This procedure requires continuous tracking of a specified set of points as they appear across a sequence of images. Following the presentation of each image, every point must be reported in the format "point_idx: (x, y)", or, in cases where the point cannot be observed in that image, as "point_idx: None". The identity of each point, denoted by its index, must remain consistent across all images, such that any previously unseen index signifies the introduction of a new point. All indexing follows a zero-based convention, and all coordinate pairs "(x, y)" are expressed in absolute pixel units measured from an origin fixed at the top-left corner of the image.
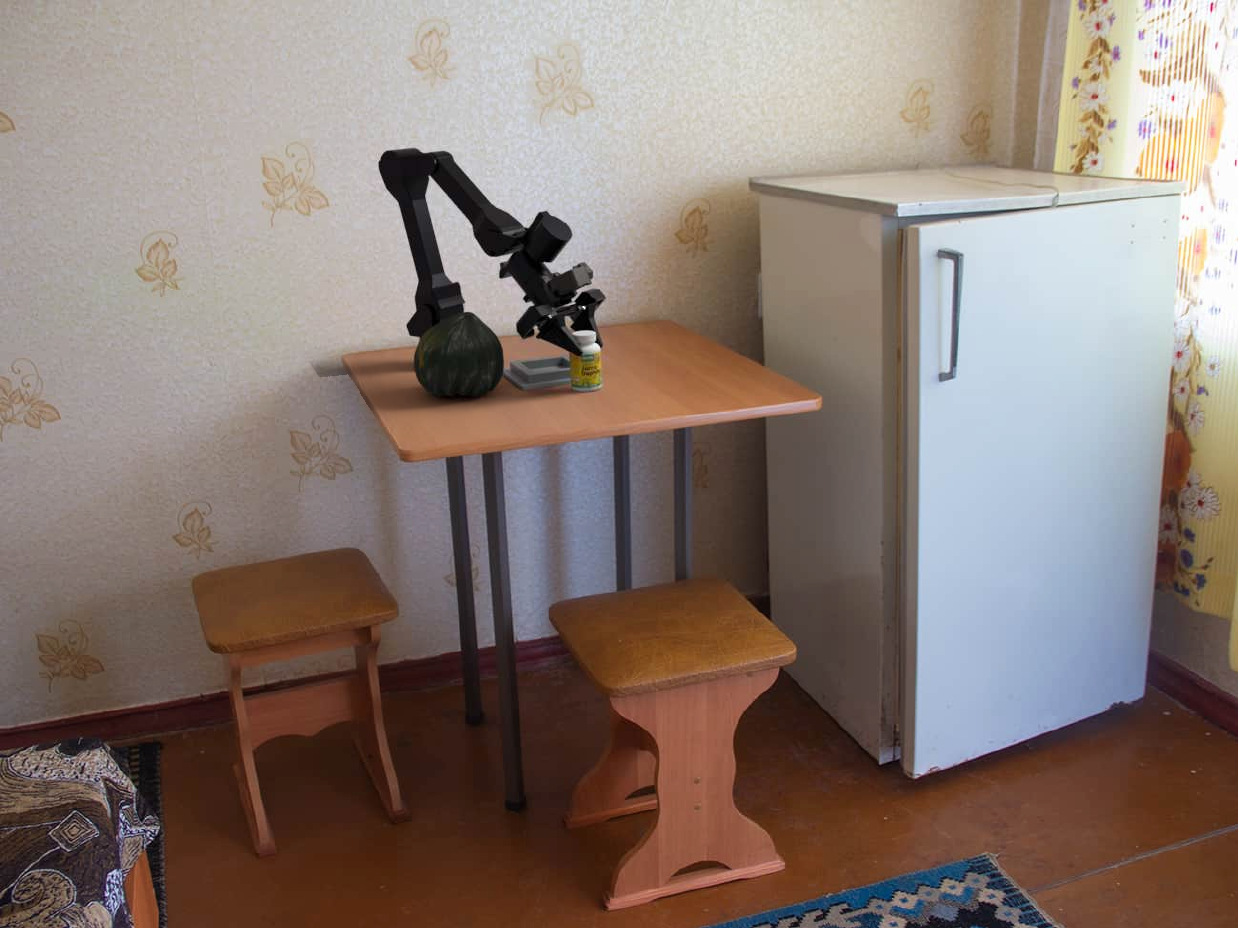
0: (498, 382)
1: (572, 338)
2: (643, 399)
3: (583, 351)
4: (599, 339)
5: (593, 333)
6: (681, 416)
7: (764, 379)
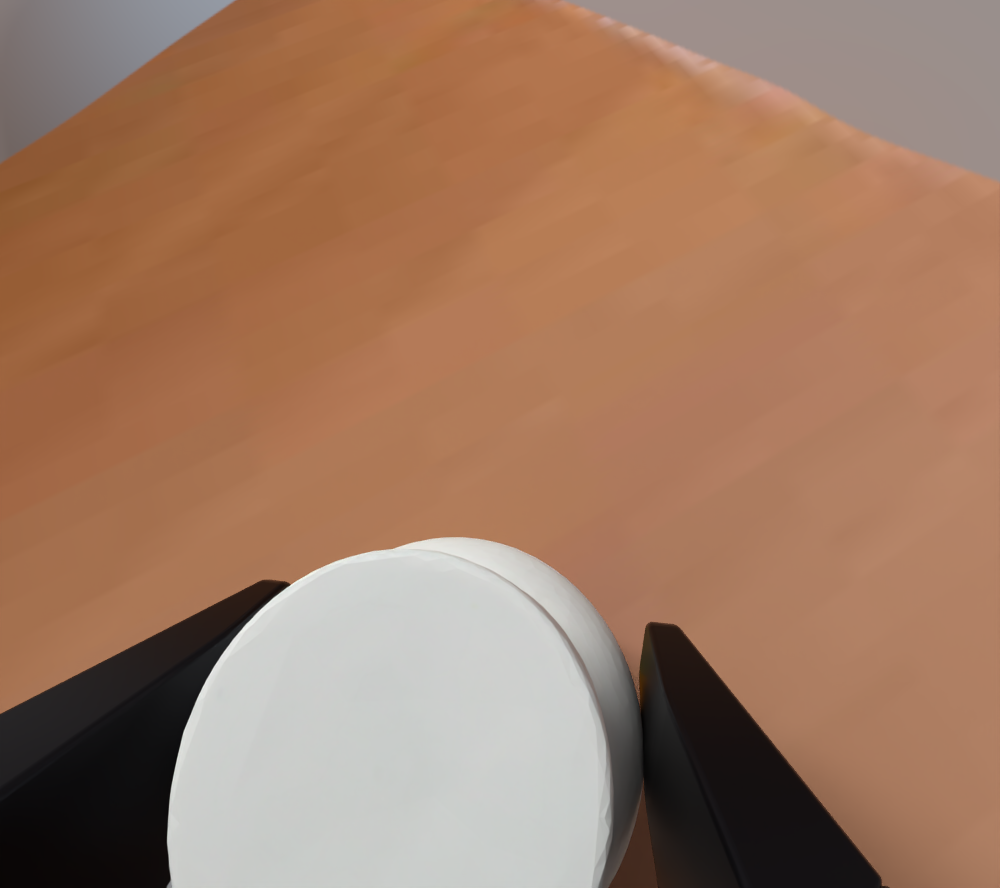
0: None
1: (781, 811)
2: (574, 294)
3: (612, 640)
4: (225, 619)
5: (378, 568)
6: (722, 77)
7: (158, 88)
